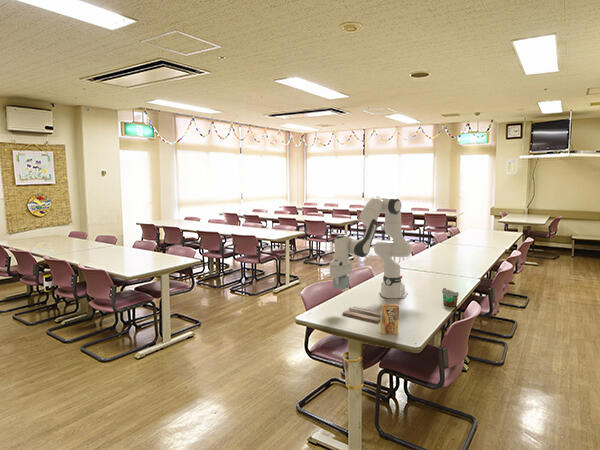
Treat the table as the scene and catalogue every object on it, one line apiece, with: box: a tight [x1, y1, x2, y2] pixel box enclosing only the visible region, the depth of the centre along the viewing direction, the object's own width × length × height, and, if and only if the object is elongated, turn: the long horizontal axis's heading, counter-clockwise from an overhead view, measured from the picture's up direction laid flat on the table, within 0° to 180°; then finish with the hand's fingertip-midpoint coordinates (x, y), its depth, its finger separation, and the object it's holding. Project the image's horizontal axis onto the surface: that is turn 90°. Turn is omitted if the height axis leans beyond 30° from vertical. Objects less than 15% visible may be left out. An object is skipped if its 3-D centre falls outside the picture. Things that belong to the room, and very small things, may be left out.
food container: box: [441, 287, 460, 308], centre depth 253 cm, size 12×6×10 cm, turn 21°
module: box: [332, 275, 350, 291], centre depth 243 cm, size 6×8×7 cm
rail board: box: [342, 306, 381, 324], centre depth 234 cm, size 14×23×3 cm, turn 52°
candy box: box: [379, 303, 400, 335], centre depth 207 cm, size 9×4×15 cm, turn 93°
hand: (341, 282), depth 243 cm, fingers closed on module, 6 cm apart
